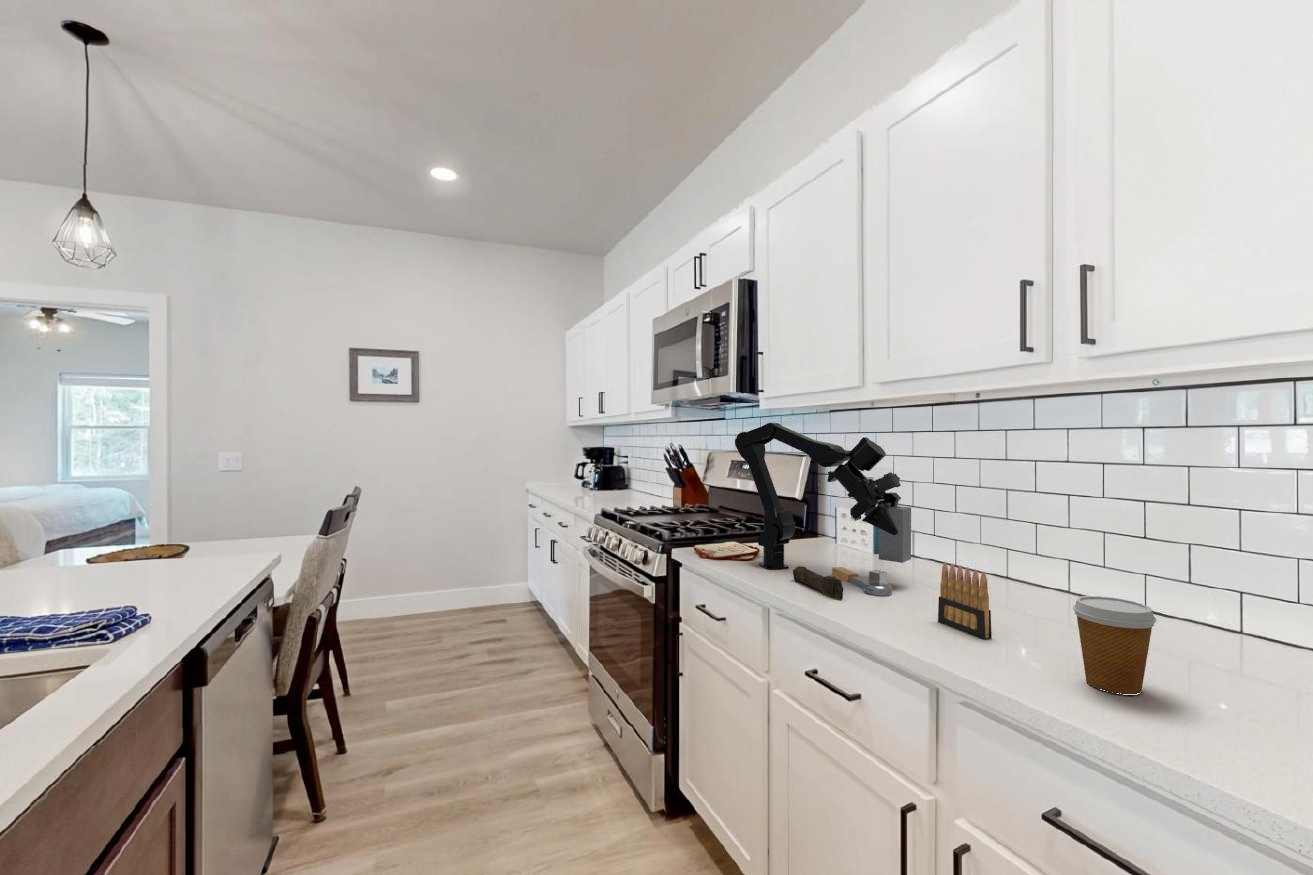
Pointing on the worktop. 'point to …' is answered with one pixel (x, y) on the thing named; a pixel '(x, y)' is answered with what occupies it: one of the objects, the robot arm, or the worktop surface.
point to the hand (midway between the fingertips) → (900, 532)
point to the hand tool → (820, 582)
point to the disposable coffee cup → (1114, 642)
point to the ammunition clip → (965, 602)
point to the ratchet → (866, 581)
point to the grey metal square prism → (899, 544)
